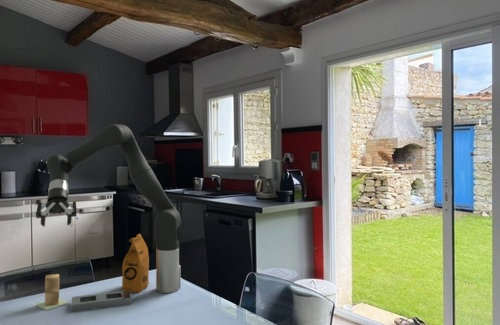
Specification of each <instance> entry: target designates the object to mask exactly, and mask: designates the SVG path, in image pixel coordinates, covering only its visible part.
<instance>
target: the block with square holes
mask: <svg viewBox="0 0 500 325" xmlns="http://www.w3.org/2000/svg"><path fill="white" fill-rule="evenodd" d="M128 305H129V306H130V305H131V295H130V292H128V290H127V291H123V290H119V291H112V292H105V293H104V292H103V293H95V294H87V295H86V294H85V295H78V296H77V295H76V296H72V297H71V305H70V308H71V311H70V312H71V313H75V312H77V313H78V312H84V311H91V310H99V309H106V308H107V309H108V308H114V307H115V308H116V307H120V306H121V307H123V306H128Z"/></svg>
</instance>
